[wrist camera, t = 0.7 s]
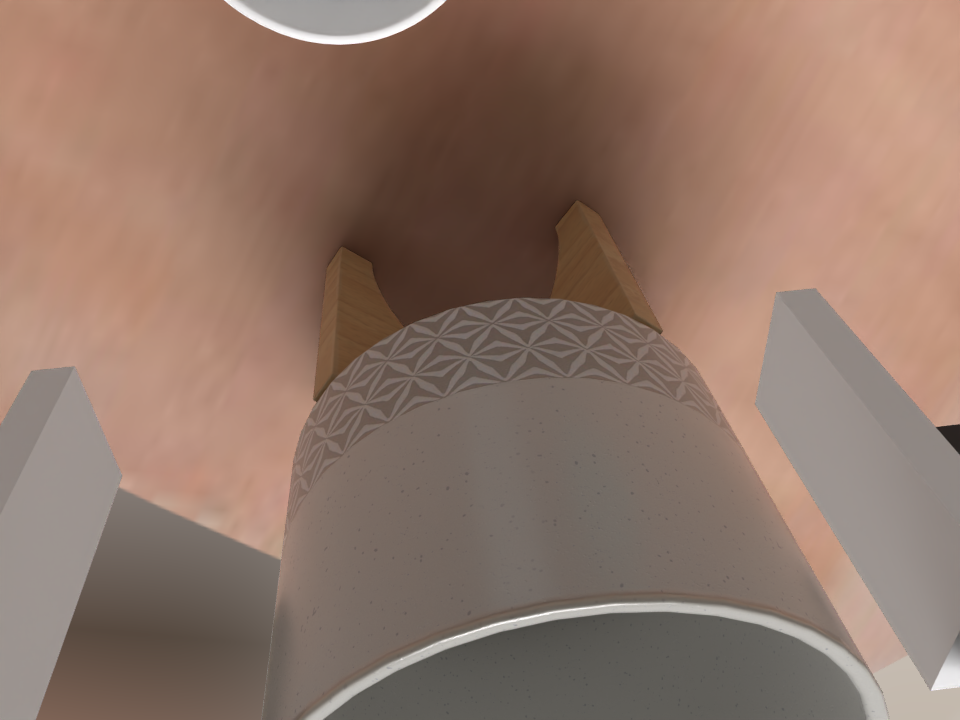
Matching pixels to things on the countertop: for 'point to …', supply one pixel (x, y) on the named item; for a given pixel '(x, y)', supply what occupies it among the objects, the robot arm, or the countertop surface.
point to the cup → (336, 17)
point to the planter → (538, 523)
